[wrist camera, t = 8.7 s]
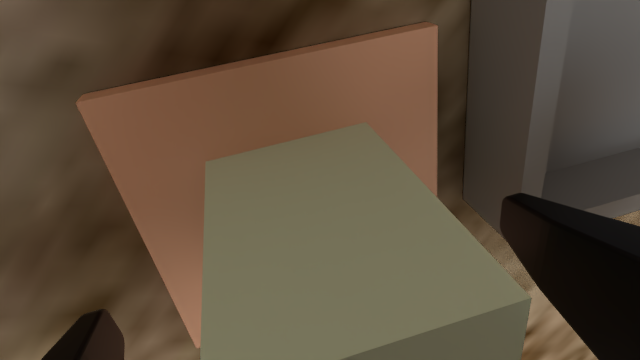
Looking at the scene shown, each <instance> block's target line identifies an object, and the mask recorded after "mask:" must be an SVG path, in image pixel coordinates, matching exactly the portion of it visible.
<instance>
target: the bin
mask: <svg viewBox="0 0 640 360" xmlns="http://www.w3.org/2000/svg"><path fill="white" fill-rule="evenodd" d="M516 193H525V194H529V195H532V196H535V197H539V198H542V199H546V200H549V201H553V202H556V203H560V204H563V205H567V206H570V207H574V208H577V209H580V210H584V211H587V212H591V213H594V214H598V215H601V216H605V217H608V218H615V217H618V216H621V215H625V214H628V213H631V212H635V211H638V210H640V0H472V1H471V24H470V46H469V69H468V92H467V115H466V138H465V161H464V184H463V200H465V201H466V202H467V203H468V204H469V205H470V206H471V207H472V208H473V209H474V210H475V211H476V212H477V213H478V214H479V215H480V216H481V217H482V218H483V219H484V220H485V221H486V222H487V223H489V224H490V225H491V226H492V227H493V228H494V229H495V230H496V231H497V232H498V233H499V234H500V235H501V236H502V237H503V238H504V236H503V235H502V233H501V230H500V214H501V205H502V200H503V198H504V197H506V196H509V195H512V194H516ZM504 239H505V238H504ZM505 240H506V239H505Z"/></svg>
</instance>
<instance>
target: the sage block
mask: <svg viewBox="0 0 640 360" xmlns="http://www.w3.org/2000/svg"><path fill="white" fill-rule="evenodd" d="M530 304H531V297H530V296H529V295H528V293H527V292H526V291H525V290H524V289H523V288H522V287H521V286H520V285H519V284H518V283H517V282H516V281H515V280H514V279H513V278H512V277H511V275H510V274H509V273H508V272H507V271H506V270H505V269H504V268H503V267H502V266H501V265H500V264H499V263H498V262H497V261H496V260H495V258H494V257H493V256H492V255H491V254H490V253H489V252H488V251H487V250H486V249H485V248H484V247H483V246H482V245H481V244H480V243H479V241H478V240H477V239H476V238H475V237H474V236H473V235H472V234H471V233H470V232H469V231H468V230H467V229H466V228H465V227H464V226H463V225H462V223H461V222H460V221H459V220H458V219H457V218H456V217H455V216H454V215H453V214H452V213H451V212H450V211H449V210H448V209H447V208H446V206H445V205H444V204H443V203H442V202H441V201H440V200H439V199H438V198H437V197H436V196H435V195H434V194H433V193H432V192H431V191H430V189H429V188H428V187H427V186H426V185H425V184H424V183H423V182H422V181H421V180H420V179H419V178H418V177H417V176H416V175H415V174H414V173H413V171H412V170H411V169H410V168H409V167H408V166H407V165H406V164H405V163H404V162H403V161H402V160H401V159H400V158H399V157H398V156H397V154H396V153H395V152H394V151H393V150H392V149H391V148H390V147H389V146H388V145H387V144H386V143H385V142H384V141H383V140H382V139H381V137H380V136H379V135H378V134H377V133H376V132H375V131H374V130H373V129H372V128H371V127H370V126H369V125H368V124H367V123H366V122H364V123H360V124H356V125H352V126H348V127H344V128H340V129H336V130H332V131H328V132H324V133H320V134H316V135H311V136H307V137H303V138H299V139H295V140H291V141H287V142H283V143H279V144H275V145H271V146H267V147H263V148H259V149H255V150H251V151H247V152H243V153H239V154H235V155H230V156H226V157H222V158H218V159H214V160H210V161H206V163H205V200H204V237H203V274H202V311H201V348H200V360H521V356H522V350H523V344H524V338H525V333H526V327H527V321H528V315H529V309H530Z"/></svg>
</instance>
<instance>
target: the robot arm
mask: <svg viewBox="0 0 640 360" xmlns="http://www.w3.org/2000/svg"><path fill="white" fill-rule="evenodd" d="M500 230H501V233H502V235H503V236H504V238H505V239H506V241H507V242H508V244H509V245H510V247H511V248H512V250H513V251H514V253H515V254H516V256H517V257H518V258H519V260H520V261H521V263H522V264H523V266H524V267H525V269H526V270H527V272H528V273H529V275H530V276H531V278H532V279H533V280H534V282H535V283H536V285H537V286H538V287H539V289H540V290H541V291H542V292H543V294H544V295H545V296H546V297H547V299H548V300H549V301H550V302H551V303H552V305H553V306H554V307H555V308H556V309H557V310H558V312H559V313H560V314H561V315H562V316H563V318H564V319H565V320H566V321H567V322H568V324H569V325H570V326H571V327H572V328H573V330H574V331H575V332H576V333H577V334H578V336H579V337H580V338H581V339H582V340H583V342H584V343H585V344H586V345H587V346H588V348H589V349H590V350H591V351H592V352H593V354H594V355H595V356H596V357H597V358H598V359H599V360H640V227H639V226H636V225H632V224H629V223H625V222H622V221H619V220H615V219H612V218H608V217H605V216H601V215H598V214H594V213H591V212H587V211H584V210H580V209H577V208H574V207H570V206H567V205H563V204H560V203H556V202H553V201H549V200H546V199H542V198H539V197H535V196H532V195H529V194H525V193H516V194H512V195H509V196H506V197H504V198H503V200H502V205H501V214H500ZM41 360H124V337H123V335H122V333H121V331H120V329H119V328H118V326H117V324H116V323H115V321H114V320H113V318H112V317H111V315H110V313H109V312H108V311H107V310H105V309H99V310H96V311H92V312H88V313H86V314H83V315H82V316H81V317H80V318H79V319H78V320H77V321H76V322H75V323H74V324H73V325H72V326H71V328H70V329H69V330H68V331H67V332H66V333H65V334H64V335H63V336H62V337H61V338H60V339H59V341H58V342H57V343H56V344H55V345H54V346H53V347H52V348H51V349H50V350H49V351H48V352H47V354H46V355H45V356H44V357H43V358H42V359H41Z"/></svg>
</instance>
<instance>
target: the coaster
mask: <svg viewBox="0 0 640 360" xmlns="http://www.w3.org/2000/svg"><path fill="white" fill-rule="evenodd" d="M437 102H438V25H435V24H432V23H429V22H422V23H417V24H412V25H408V26H403V27H398V28H393V29H389V30H384V31H379V32H374V33H370V34H365V35H360V36H356V37H351V38H346V39H341V40H337V41H332V42H327V43H322V44H318V45H313V46H308V47H304V48H299V49H294V50H289V51H285V52H280V53H275V54H270V55H266V56H261V57H256V58H252V59H247V60H242V61H237V62H233V63H228V64H223V65H218V66H214V67H209V68H204V69H200V70H195V71H190V72H185V73H181V74H176V75H171V76H166V77H162V78H157V79H152V80H148V81H143V82H138V83H133V84H129V85H124V86H119V87H114V88H110V89H105V90H100V91H96V92H91V93H86V94H83V95H82V96H81V97H80V98H79V99H78V100H77V101H76V102H75V103H76V105H77V107H78V109H79V111H80V113H81V115H82V117H83V119H84V121H85V123H86V125H87V127H88V129H89V131H90V133H91V135H92V137H93V140H94V142H95V144H96V146H97V148H98V150H99V152H100V154H101V156H102V158H103V160H104V162H105V164H106V166H107V168H108V170H109V172H110V174H111V176H112V178H113V180H114V182H115V184H116V186H117V188H118V190H119V192H120V194H121V196H122V198H123V200H124V202H125V204H126V206H127V208H128V210H129V212H130V215H131V217H132V219H133V221H134V223H135V225H136V227H137V229H138V231H139V233H140V235H141V237H142V239H143V241H144V243H145V245H146V247H147V249H148V251H149V253H150V255H151V257H152V259H153V261H154V263H155V265H156V267H157V269H158V271H159V273H160V275H161V277H162V279H163V281H164V283H165V285H166V287H167V290H168V292H169V294H170V296H171V298H172V300H173V302H174V304H175V306H176V308H177V310H178V312H179V314H180V316H181V318H182V320H183V322H184V324H185V326H186V328H187V330H188V332H189V334H190V336H191V338H192V340H193V342H194V344H195V346H196V348H200V347H201V311H202V274H203V237H204V200H205V163H206V161H210V160H214V159H218V158H222V157H226V156H230V155H235V154H239V153H243V152H247V151H251V150H255V149H259V148H263V147H267V146H271V145H275V144H279V143H283V142H287V141H291V140H295V139H299V138H303V137H307V136H311V135H316V134H320V133H324V132H328V131H332V130H336V129H340V128H344V127H348V126H352V125H356V124H360V123H364V122H366V123H367V124H368V125H369V126H370V127H371V128H372V129H373V130H374V131H375V132H376V133H377V134H378V135H379V136H380V137H381V139H382V140H383V141H384V142H385V143H386V144H387V145H388V146H389V147H390V148H391V149H392V150H393V151H394V152H395V153H396V154H397V156H398V157H399V158H400V159H401V160H402V161H403V162H404V163H405V164H406V165H407V166H408V167H409V168H410V169H411V170H412V171H413V173H414V174H415V175H416V176H417V177H418V178H419V179H420V180H421V181H422V182H423V183H424V184H425V185H426V186H427V187H428V188H429V189H430V191H431V192H432V193H433V194H434V195H435V196H436V197H437Z"/></svg>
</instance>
